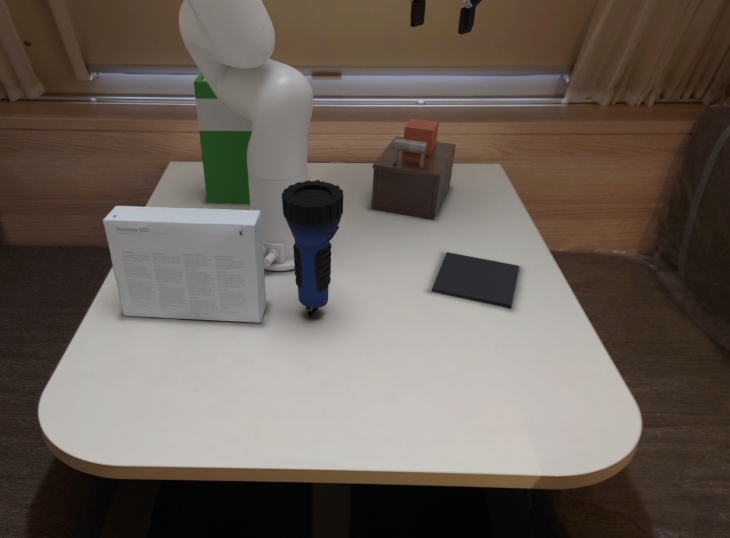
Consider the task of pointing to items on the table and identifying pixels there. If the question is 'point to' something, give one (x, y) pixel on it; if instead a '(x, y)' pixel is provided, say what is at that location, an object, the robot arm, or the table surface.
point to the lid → (414, 157)
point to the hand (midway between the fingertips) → (440, 29)
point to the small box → (422, 133)
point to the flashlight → (313, 236)
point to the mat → (477, 279)
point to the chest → (410, 192)
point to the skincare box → (188, 262)
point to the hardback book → (222, 147)
